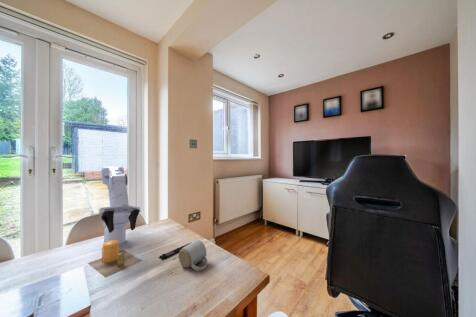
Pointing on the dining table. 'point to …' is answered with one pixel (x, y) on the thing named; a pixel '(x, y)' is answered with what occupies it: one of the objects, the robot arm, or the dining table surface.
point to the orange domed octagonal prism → (110, 250)
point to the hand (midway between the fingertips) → (122, 230)
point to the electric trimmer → (171, 253)
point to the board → (115, 263)
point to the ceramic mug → (193, 255)
